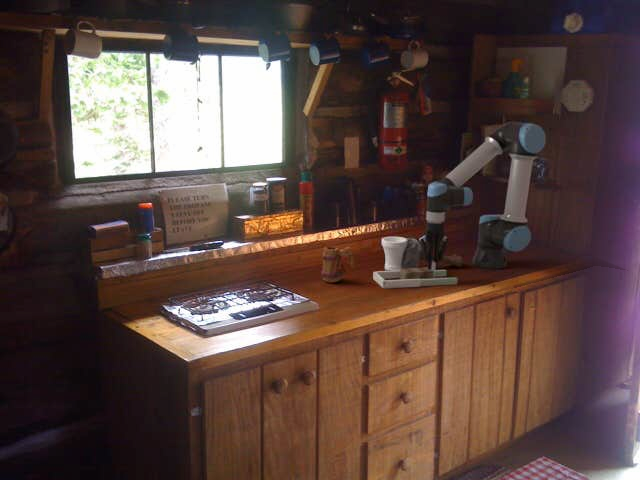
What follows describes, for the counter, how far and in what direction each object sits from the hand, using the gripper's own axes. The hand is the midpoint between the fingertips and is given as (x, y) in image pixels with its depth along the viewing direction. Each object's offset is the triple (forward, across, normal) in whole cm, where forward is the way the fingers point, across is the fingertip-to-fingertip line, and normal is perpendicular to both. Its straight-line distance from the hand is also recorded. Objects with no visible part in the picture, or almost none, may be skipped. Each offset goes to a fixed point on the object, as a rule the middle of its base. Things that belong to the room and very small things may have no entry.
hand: (431, 276), depth 290 cm
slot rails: (+2, -1, 0) cm, 2 cm away
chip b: (+2, +10, 0) cm, 10 cm away
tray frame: (+2, +15, 0) cm, 16 cm away
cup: (+2, +11, -16) cm, 20 cm away
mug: (+2, +39, -5) cm, 40 cm away
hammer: (+2, -6, -17) cm, 18 cm away
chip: (+2, +4, 0) cm, 4 cm away
